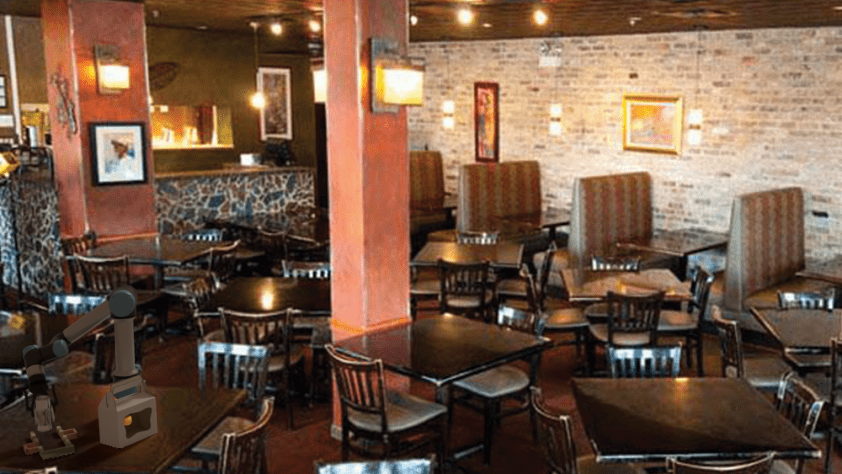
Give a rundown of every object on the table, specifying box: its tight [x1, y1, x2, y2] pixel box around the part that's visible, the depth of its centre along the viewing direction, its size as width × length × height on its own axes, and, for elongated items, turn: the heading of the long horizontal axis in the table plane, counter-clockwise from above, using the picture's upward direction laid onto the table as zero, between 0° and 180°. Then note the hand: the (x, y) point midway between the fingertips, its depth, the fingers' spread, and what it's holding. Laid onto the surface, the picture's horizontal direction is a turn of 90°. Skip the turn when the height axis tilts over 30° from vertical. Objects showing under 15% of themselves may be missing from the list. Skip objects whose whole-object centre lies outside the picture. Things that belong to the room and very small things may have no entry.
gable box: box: [97, 375, 158, 449], centre depth 382 cm, size 22×13×28 cm, turn 149°
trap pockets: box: [22, 427, 79, 456], centre depth 378 cm, size 14×23×2 cm, turn 124°
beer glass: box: [34, 395, 53, 433], centre depth 381 cm, size 7×7×15 cm
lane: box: [29, 425, 76, 461], centre depth 376 cm, size 31×13×4 cm, turn 34°
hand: (45, 421), depth 378 cm, fingers closed on beer glass, 6 cm apart
